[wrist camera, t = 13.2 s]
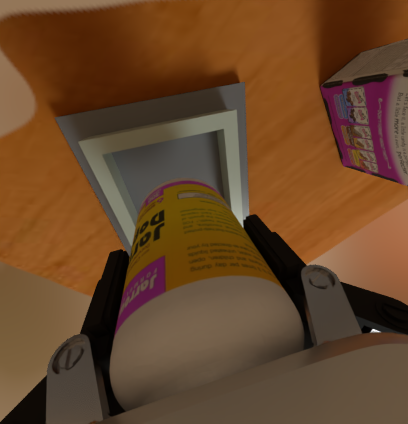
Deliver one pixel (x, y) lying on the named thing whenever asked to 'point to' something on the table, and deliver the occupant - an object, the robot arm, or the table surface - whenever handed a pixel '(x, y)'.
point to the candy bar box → (372, 111)
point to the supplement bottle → (195, 299)
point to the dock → (162, 150)
